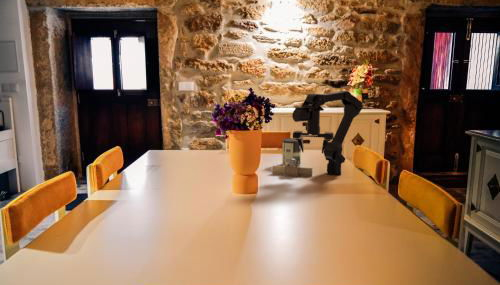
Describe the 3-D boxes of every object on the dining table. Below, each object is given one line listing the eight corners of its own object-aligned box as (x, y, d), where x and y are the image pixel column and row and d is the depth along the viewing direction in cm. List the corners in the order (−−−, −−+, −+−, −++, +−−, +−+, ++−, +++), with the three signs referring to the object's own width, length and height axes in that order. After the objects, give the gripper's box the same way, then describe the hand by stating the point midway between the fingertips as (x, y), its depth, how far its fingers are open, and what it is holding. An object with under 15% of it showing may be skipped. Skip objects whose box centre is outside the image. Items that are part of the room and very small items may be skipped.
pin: (295, 174, 183) (295, 158, 182) (294, 175, 180) (294, 160, 179) (289, 173, 184) (289, 158, 183) (288, 175, 181) (288, 159, 180)
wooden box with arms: (312, 174, 183) (313, 164, 182) (311, 178, 176) (311, 167, 176) (274, 171, 188) (274, 162, 187) (271, 175, 182) (271, 165, 181)
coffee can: (299, 162, 208) (300, 138, 205) (301, 167, 197) (302, 141, 195) (281, 162, 208) (281, 138, 205) (282, 167, 198) (282, 141, 195)
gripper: (334, 119, 178) (333, 150, 181) (296, 118, 183) (296, 148, 186) (333, 122, 168) (332, 155, 170) (292, 120, 173) (292, 153, 176)
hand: (312, 152), depth 176 cm, fingers open, 9 cm apart
